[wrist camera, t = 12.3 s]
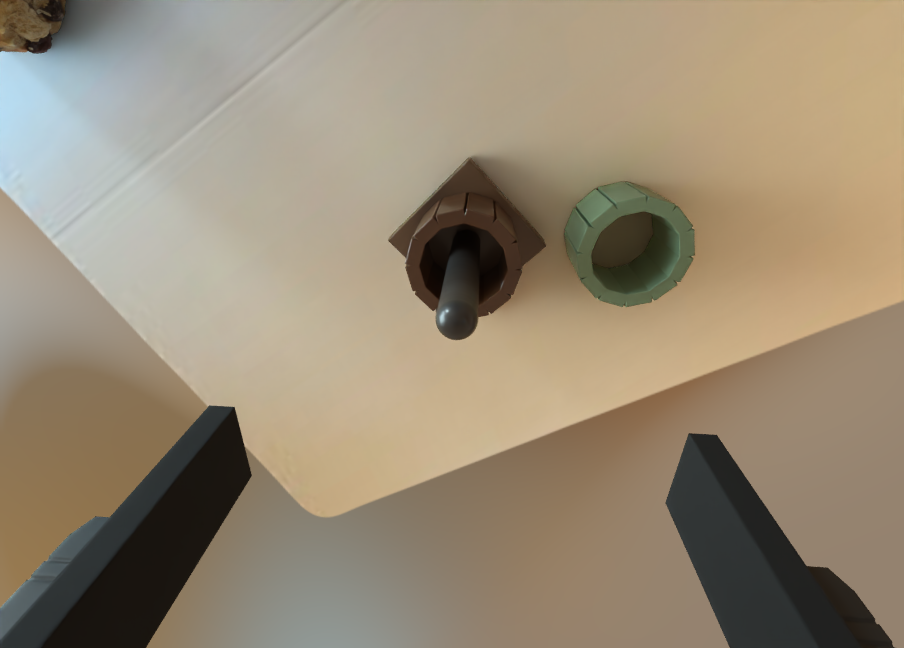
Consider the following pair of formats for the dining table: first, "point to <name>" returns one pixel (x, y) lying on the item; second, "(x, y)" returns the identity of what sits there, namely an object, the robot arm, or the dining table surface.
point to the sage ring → (647, 271)
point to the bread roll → (29, 24)
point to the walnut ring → (477, 214)
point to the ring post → (466, 249)
